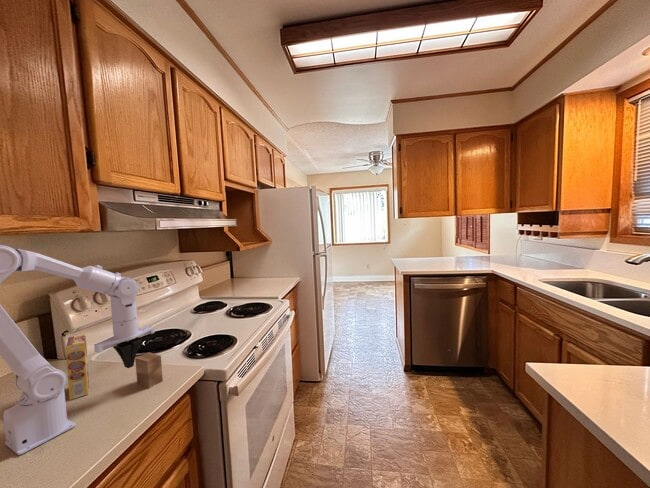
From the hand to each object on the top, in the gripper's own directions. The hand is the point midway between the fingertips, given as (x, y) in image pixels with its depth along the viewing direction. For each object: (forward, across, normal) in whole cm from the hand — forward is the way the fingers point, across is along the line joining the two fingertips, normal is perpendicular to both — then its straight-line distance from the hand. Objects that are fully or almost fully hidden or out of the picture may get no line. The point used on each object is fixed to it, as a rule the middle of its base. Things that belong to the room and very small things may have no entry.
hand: (129, 366), depth 79 cm
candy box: (+8, +6, -15) cm, 18 cm away
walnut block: (+8, -5, 0) cm, 9 cm away
